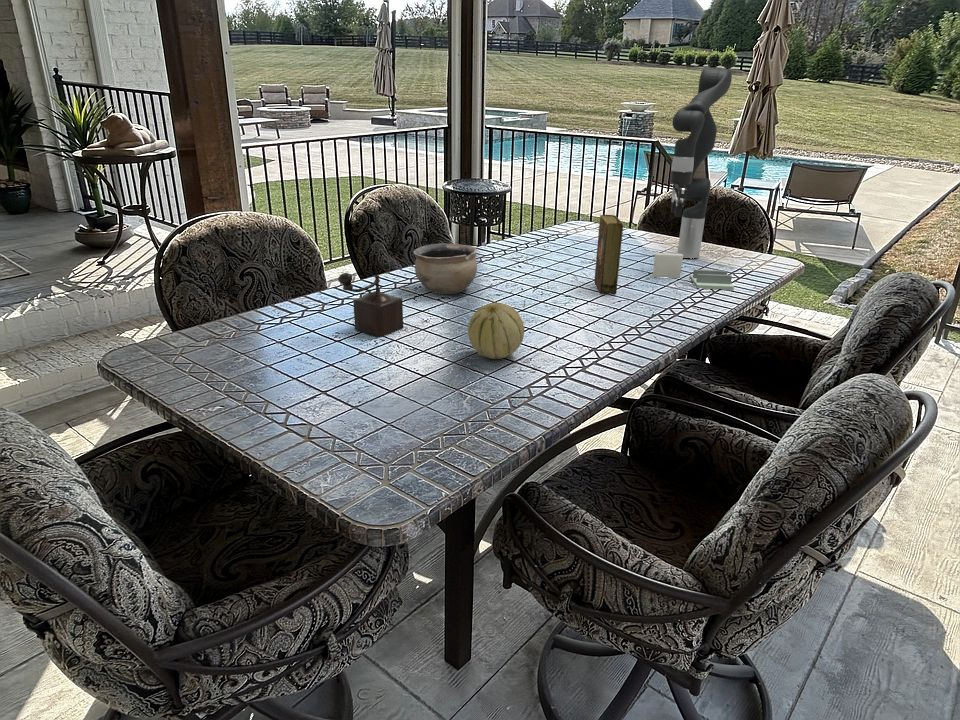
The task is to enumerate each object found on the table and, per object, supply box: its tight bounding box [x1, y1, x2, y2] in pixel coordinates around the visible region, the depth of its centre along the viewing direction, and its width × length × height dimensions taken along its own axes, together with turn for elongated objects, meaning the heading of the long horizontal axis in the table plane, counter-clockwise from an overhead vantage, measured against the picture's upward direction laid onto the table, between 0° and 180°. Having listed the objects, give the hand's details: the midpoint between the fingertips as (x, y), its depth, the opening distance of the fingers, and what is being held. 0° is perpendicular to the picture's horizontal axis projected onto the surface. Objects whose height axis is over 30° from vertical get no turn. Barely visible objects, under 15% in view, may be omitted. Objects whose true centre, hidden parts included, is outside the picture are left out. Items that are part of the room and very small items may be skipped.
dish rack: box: [688, 269, 735, 291], centre depth 236 cm, size 14×13×4 cm
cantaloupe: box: [467, 302, 525, 360], centre depth 167 cm, size 15×15×15 cm
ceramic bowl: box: [413, 242, 478, 295], centre depth 221 cm, size 22×22×15 cm
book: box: [593, 214, 624, 295], centre depth 225 cm, size 16×6×25 cm, turn 179°
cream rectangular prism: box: [651, 252, 683, 279], centre depth 244 cm, size 3×10×9 cm, turn 84°
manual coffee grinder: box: [337, 272, 404, 338], centre depth 182 cm, size 16×11×18 cm
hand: (676, 215), depth 237 cm, fingers open, 8 cm apart
